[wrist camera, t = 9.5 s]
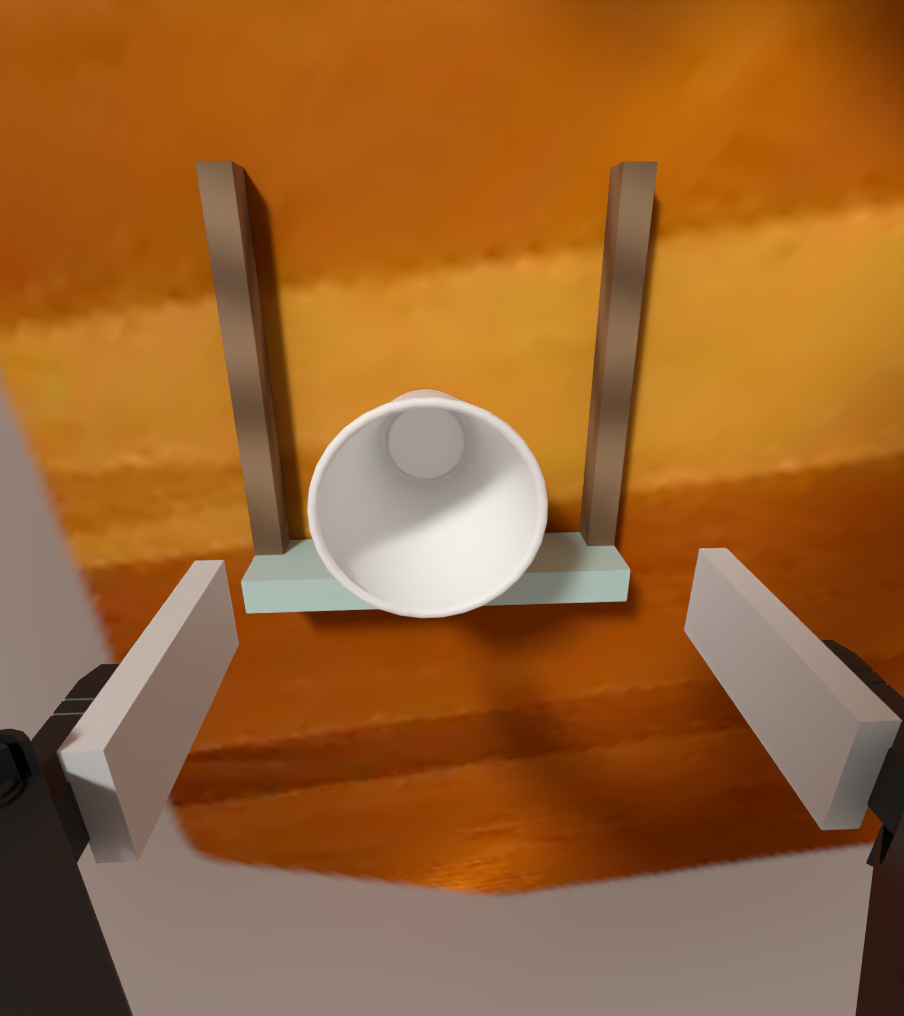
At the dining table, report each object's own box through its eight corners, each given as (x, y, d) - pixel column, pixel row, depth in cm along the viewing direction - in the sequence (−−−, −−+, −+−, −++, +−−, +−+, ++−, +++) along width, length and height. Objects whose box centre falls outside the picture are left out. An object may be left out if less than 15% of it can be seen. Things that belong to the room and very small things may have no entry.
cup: (462, 542, 37) (478, 650, 27) (313, 477, 35) (270, 567, 25) (542, 402, 34) (594, 465, 24) (384, 320, 32) (367, 351, 22)
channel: (209, 167, 28) (195, 161, 27) (642, 167, 29) (657, 161, 28) (267, 569, 37) (259, 585, 35) (601, 559, 38) (610, 574, 36)
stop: (263, 540, 36) (241, 581, 32) (604, 531, 37) (630, 569, 33) (267, 569, 37) (246, 613, 32) (601, 559, 38) (626, 601, 33)
